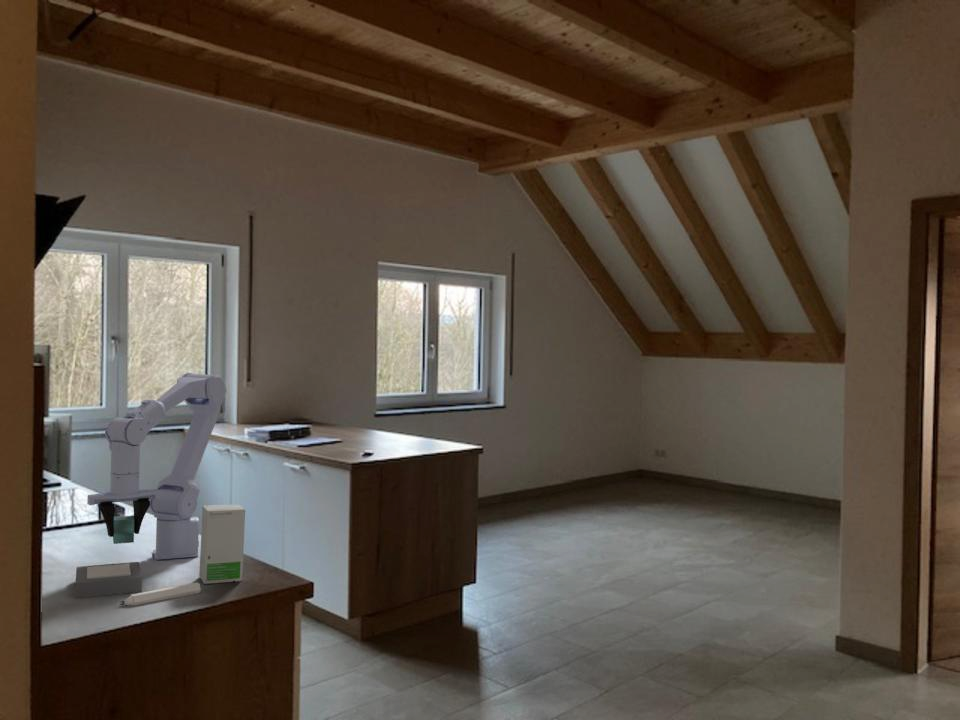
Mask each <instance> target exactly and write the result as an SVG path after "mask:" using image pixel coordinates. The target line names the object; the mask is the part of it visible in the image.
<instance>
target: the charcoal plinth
mask: <svg viewBox="0 0 960 720" xmlns="http://www.w3.org/2000/svg"><path fill="white" fill-rule="evenodd" d="M74 583H75V585H74V586H75V587H74V588H75V591H74V594H75V595H74V599H80V598H92V597H94V598H95V597H103V596H104V597H105V596H112V595H113V594H115V595H121V594H120V593H125V594H134V593H133V592H135V593H142V590H143V575H142V570H141V567H140V562H139V561H135V562H134V561H132V562H130V561H129V562H120V563H118V562H117V563H110V564H109V563H108V564H107V563H106V564H95V565H94V564H93V565H83V566H82V565H81V566H76V570H75V581H74Z"/></svg>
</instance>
